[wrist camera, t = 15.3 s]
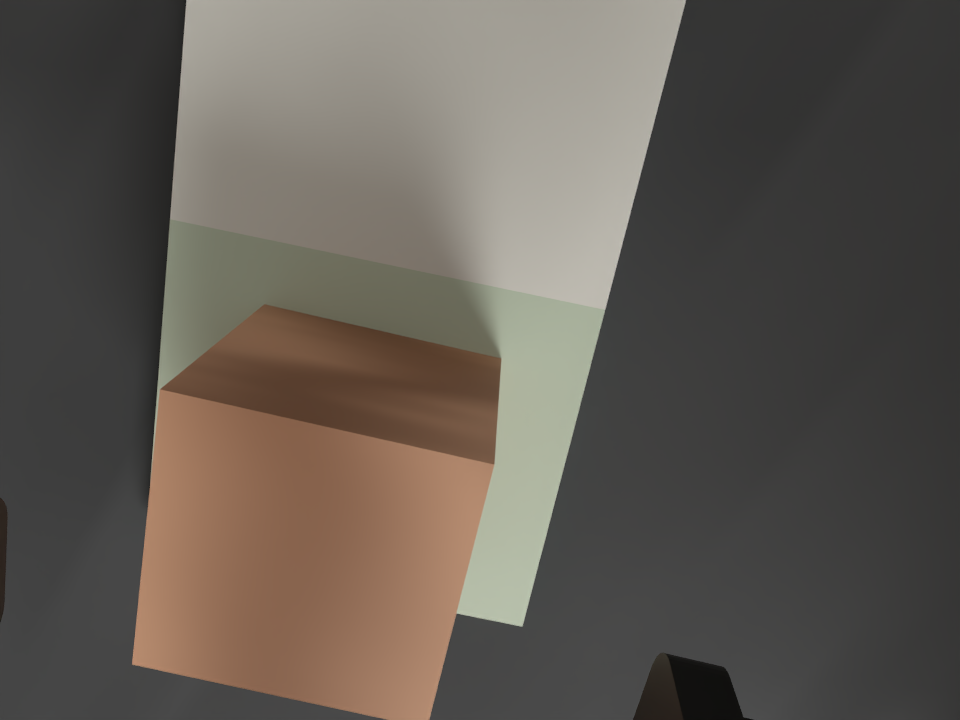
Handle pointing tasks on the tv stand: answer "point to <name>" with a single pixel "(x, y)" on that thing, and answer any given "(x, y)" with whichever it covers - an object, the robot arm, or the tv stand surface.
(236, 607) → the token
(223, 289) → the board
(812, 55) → the tv stand surface
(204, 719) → the tv stand surface
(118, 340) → the tv stand surface
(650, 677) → the robot arm
